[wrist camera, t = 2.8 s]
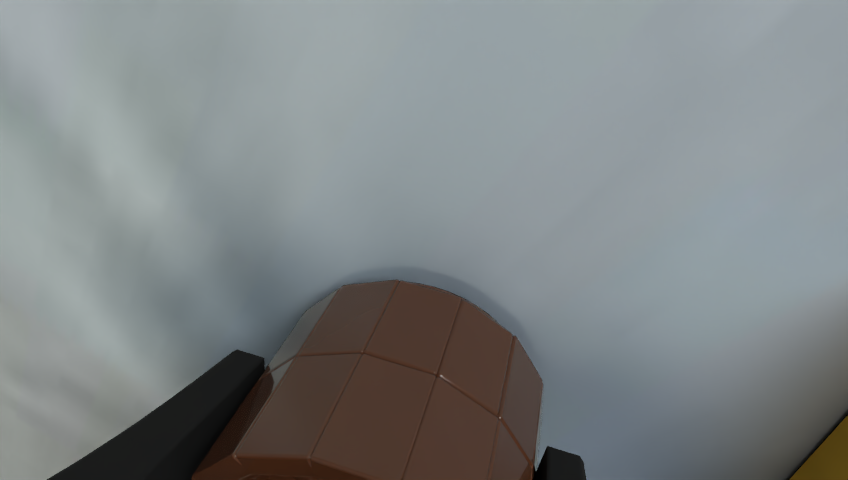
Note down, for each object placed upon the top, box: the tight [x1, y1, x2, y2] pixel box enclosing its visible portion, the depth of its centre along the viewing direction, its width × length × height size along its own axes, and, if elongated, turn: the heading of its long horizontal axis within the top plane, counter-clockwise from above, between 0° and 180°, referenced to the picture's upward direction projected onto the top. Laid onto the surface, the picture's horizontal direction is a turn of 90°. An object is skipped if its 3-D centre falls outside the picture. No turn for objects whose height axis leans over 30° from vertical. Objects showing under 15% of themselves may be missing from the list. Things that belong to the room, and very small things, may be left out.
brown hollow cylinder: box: [191, 280, 543, 480], centre depth 11 cm, size 6×6×5 cm
